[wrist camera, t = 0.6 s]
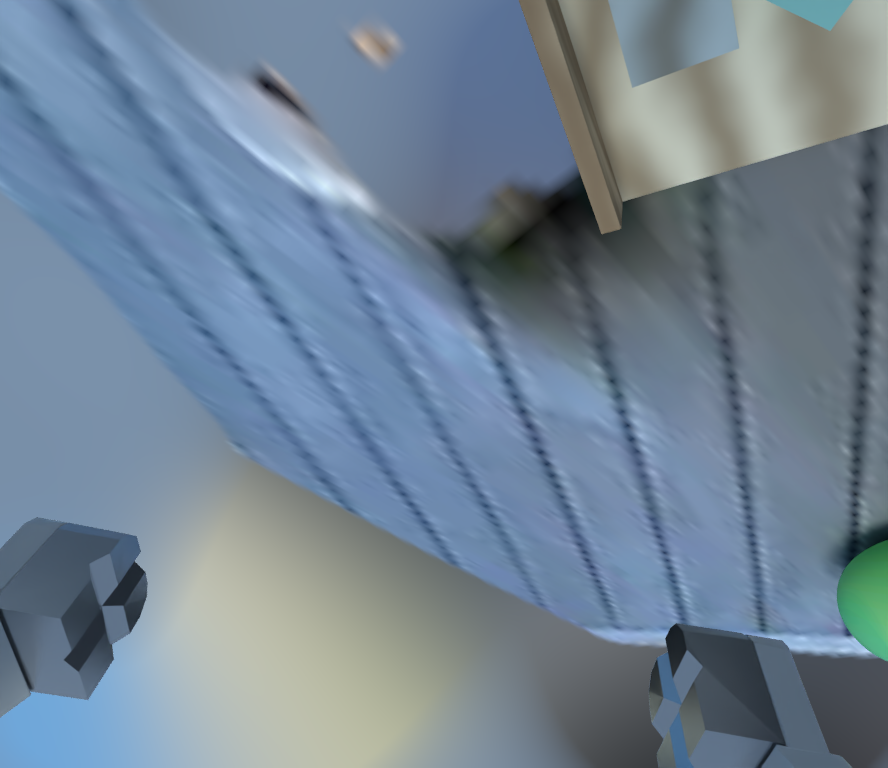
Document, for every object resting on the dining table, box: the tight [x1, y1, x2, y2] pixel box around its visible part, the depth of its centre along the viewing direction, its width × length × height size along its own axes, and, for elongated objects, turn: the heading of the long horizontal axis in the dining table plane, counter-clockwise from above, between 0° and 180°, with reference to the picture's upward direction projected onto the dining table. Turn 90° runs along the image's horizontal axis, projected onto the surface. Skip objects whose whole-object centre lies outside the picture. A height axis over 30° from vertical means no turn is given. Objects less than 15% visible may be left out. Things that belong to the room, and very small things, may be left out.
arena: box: [519, 0, 888, 234], centre depth 42 cm, size 20×20×5 cm
